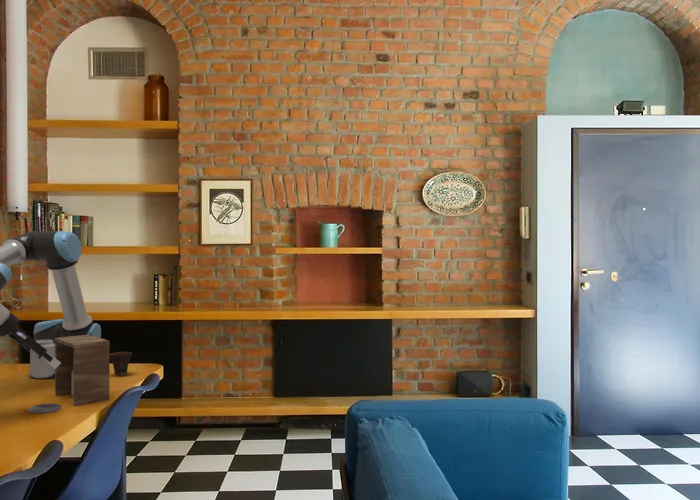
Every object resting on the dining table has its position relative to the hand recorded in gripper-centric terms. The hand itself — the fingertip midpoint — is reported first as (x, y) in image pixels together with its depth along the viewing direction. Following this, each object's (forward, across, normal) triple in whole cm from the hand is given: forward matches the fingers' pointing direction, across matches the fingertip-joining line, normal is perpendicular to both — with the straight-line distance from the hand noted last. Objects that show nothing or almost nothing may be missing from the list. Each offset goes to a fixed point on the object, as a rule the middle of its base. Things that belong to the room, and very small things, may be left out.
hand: (53, 364), depth 206 cm
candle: (+20, -12, -1) cm, 23 cm away
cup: (+37, -33, +16) cm, 52 cm away
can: (0, 0, -5) cm, 5 cm away
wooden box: (+19, -7, -2) cm, 20 cm away
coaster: (+8, 0, -13) cm, 15 cm away
